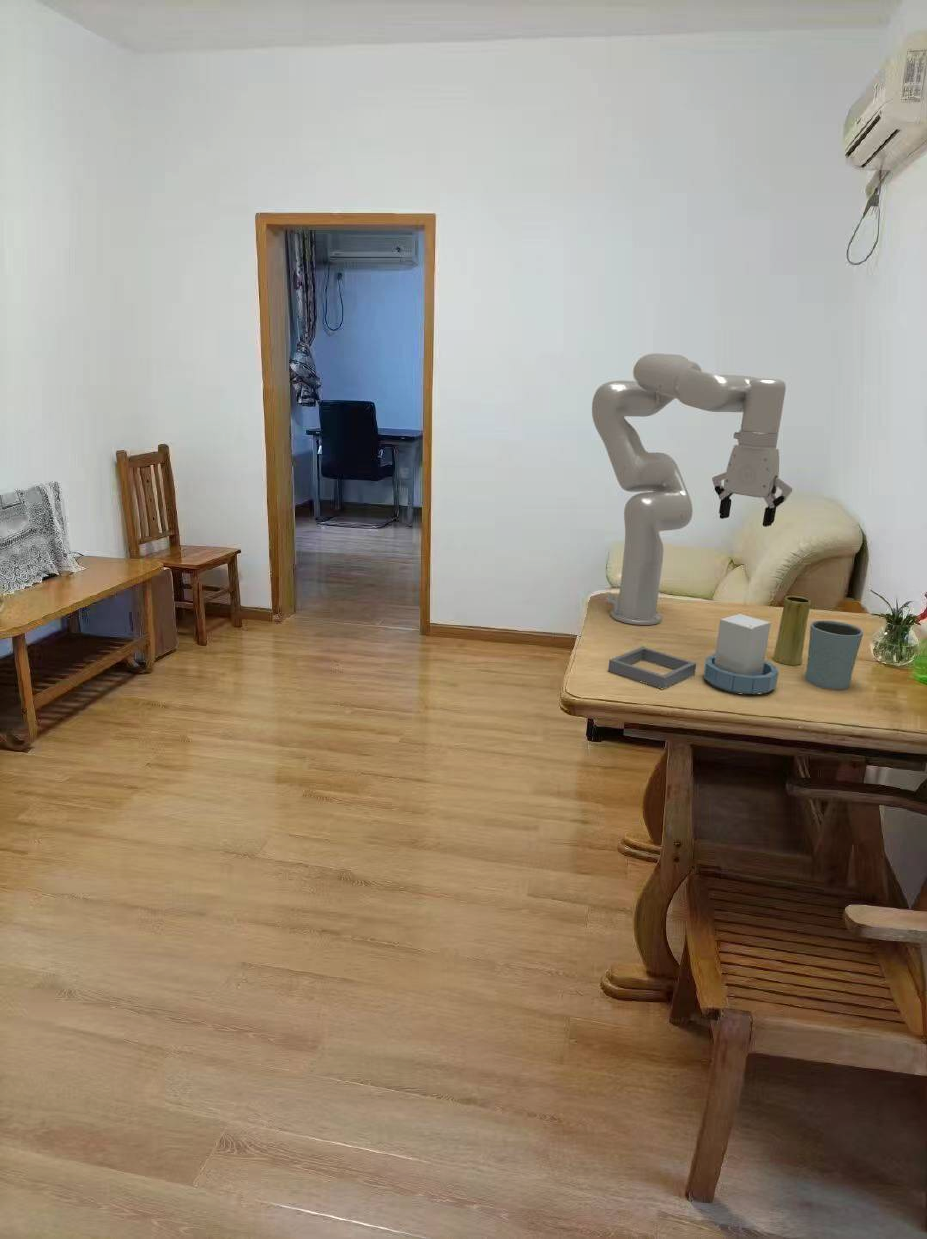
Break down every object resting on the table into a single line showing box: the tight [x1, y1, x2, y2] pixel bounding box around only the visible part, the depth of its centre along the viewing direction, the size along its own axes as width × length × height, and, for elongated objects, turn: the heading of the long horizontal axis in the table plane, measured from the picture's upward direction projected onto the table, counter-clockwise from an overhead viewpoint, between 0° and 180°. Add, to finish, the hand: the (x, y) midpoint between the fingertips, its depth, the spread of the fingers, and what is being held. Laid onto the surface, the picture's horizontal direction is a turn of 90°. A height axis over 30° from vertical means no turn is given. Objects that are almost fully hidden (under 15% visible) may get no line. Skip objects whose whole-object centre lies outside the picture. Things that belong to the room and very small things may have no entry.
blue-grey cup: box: [805, 620, 864, 691], centre depth 177 cm, size 10×10×12 cm
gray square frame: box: [607, 646, 697, 690], centre depth 178 cm, size 13×13×2 cm
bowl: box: [703, 653, 779, 695], centre depth 175 cm, size 14×14×4 cm
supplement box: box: [714, 613, 771, 676], centre depth 173 cm, size 7×7×13 cm
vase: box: [772, 595, 812, 666], centre depth 188 cm, size 6×6×14 cm
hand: (745, 521), depth 182 cm, fingers open, 9 cm apart
